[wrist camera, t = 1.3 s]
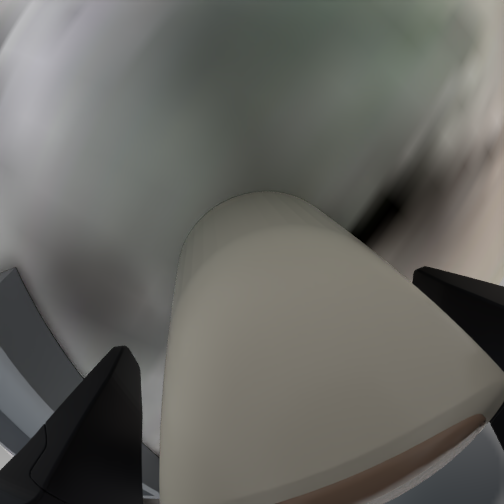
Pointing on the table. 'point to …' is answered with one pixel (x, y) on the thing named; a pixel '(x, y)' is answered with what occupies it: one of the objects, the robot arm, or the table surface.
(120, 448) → the robot arm
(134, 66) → the table surface
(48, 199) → the table surface
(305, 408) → the ceramic cup
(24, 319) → the desk tray
